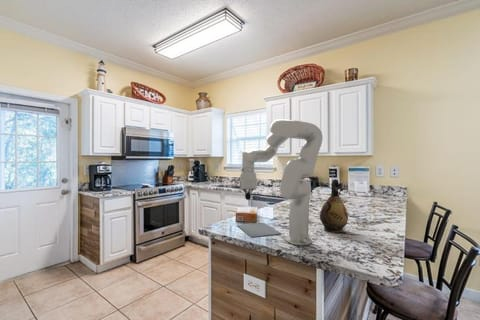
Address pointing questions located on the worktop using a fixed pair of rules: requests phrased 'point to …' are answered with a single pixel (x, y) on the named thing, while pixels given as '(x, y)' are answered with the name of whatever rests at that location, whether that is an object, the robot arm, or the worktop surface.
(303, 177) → the robot arm
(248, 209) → the cracker box
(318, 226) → the worktop surface
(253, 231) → the mat
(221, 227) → the worktop surface
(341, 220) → the ceramic jug
